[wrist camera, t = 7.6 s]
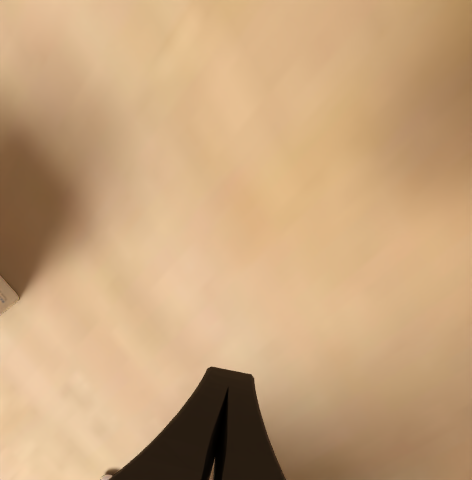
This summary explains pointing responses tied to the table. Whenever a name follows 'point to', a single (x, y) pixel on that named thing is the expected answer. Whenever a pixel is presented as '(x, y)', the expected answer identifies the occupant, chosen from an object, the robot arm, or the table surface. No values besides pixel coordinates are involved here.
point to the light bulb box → (6, 296)
